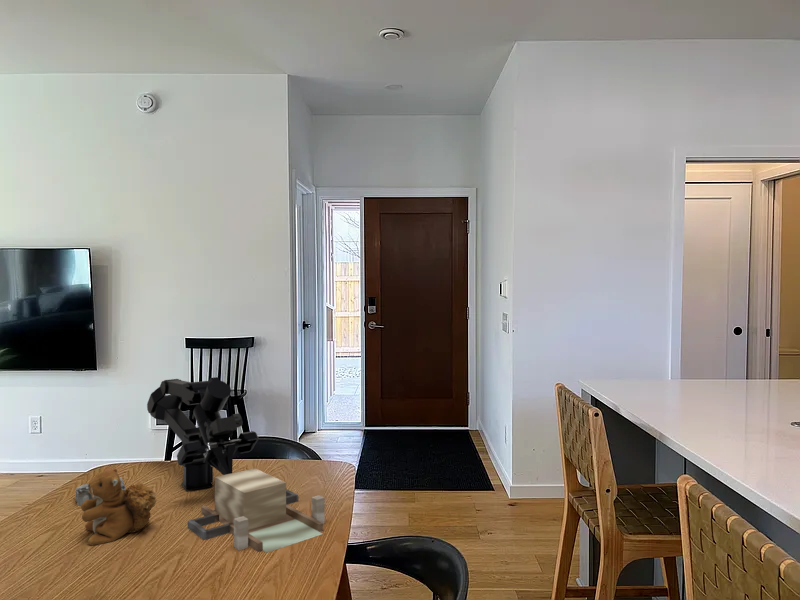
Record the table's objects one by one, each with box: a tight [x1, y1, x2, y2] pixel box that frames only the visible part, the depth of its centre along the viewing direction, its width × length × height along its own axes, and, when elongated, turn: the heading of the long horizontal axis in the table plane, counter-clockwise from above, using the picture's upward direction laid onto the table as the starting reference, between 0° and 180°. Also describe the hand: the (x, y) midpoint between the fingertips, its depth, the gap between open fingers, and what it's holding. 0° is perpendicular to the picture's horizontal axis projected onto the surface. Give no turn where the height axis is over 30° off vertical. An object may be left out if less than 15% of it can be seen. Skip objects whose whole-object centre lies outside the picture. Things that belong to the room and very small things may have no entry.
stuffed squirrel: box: [80, 468, 157, 546], centre depth 118 cm, size 10×14×13 cm
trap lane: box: [187, 488, 326, 554], centre depth 122 cm, size 28×26×6 cm
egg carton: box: [74, 477, 127, 506], centre depth 138 cm, size 11×8×4 cm
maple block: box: [214, 467, 287, 530], centre depth 126 cm, size 14×10×8 cm
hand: (230, 477), depth 133 cm, fingers closed
